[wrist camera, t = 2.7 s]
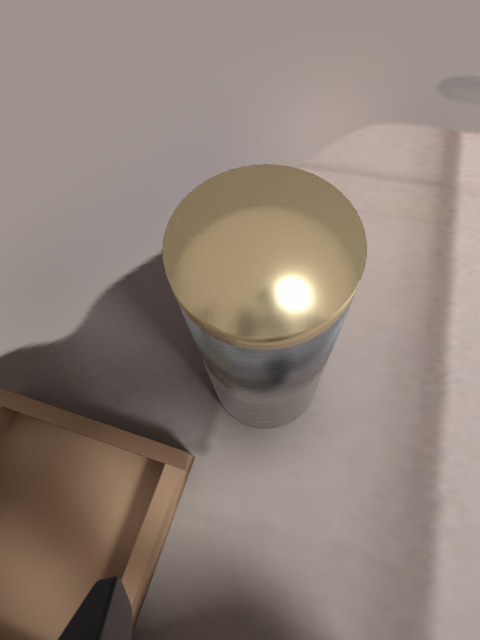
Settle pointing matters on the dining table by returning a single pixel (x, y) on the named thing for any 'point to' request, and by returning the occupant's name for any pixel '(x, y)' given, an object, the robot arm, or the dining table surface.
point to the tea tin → (264, 283)
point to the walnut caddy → (77, 512)
